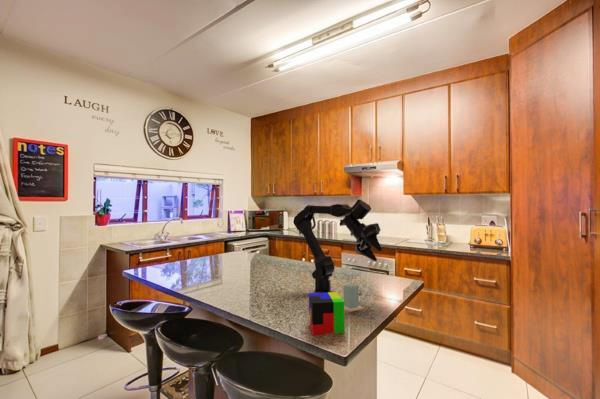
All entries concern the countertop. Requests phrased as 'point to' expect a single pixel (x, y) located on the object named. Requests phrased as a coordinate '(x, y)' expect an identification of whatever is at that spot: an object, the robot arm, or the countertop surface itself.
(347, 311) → the mat
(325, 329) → the puzzle toy
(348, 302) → the pillar
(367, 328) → the countertop surface
